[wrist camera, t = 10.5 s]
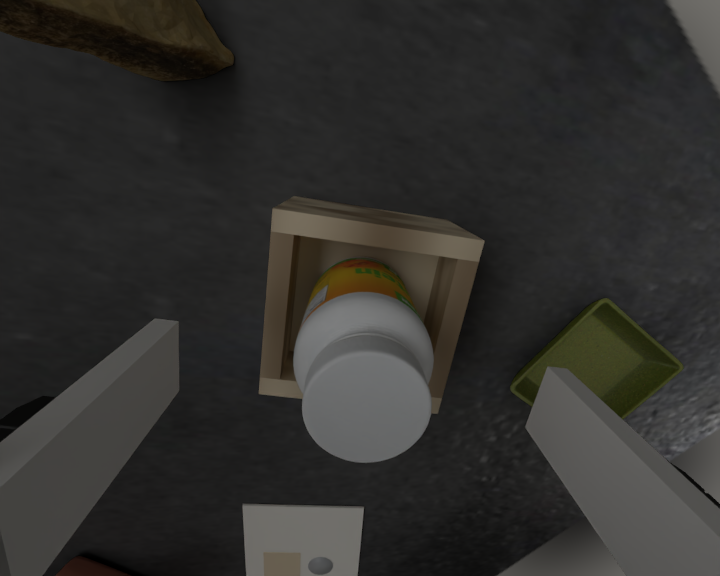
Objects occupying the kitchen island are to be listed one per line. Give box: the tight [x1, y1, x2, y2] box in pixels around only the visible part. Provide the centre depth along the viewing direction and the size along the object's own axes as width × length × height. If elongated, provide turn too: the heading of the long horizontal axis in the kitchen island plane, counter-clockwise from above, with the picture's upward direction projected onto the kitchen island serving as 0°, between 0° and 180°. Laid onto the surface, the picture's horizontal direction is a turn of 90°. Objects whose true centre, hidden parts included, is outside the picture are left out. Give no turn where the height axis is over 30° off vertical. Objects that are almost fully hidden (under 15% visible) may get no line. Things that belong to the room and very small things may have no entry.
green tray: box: [510, 298, 684, 420], centre depth 25 cm, size 9×9×2 cm
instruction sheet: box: [243, 504, 364, 576], centre depth 32 cm, size 10×14×1 cm
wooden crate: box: [259, 196, 484, 414], centre depth 20 cm, size 10×10×6 cm
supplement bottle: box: [293, 257, 434, 463], centre depth 15 cm, size 5×5×10 cm
